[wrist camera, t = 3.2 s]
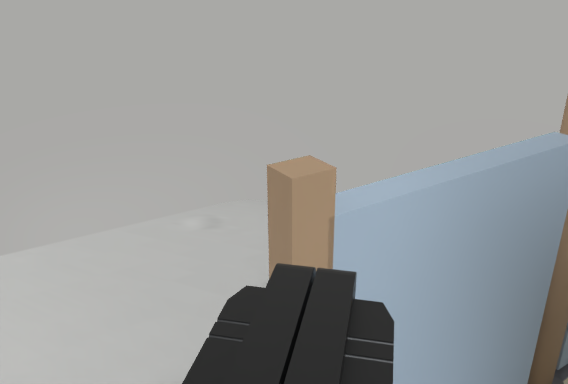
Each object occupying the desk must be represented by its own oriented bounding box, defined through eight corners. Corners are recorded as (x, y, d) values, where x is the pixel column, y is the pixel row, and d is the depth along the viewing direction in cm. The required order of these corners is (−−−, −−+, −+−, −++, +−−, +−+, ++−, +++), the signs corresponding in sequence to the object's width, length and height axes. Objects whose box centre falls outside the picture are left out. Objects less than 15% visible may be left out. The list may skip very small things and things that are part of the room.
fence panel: (504, 377, 26) (561, 98, 21) (525, 392, 25) (591, 103, 20) (274, 524, 19) (266, 165, 14) (292, 552, 19) (292, 179, 13)
